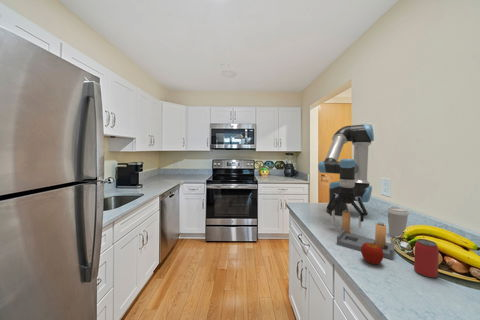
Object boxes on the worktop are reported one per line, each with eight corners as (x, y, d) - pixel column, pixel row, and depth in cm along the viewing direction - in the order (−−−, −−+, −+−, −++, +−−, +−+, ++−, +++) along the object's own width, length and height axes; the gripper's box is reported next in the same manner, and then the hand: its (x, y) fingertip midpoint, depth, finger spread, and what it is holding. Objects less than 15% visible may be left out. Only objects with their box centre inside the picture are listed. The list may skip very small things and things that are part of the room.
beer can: (413, 273, 76) (414, 241, 75) (414, 266, 81) (415, 236, 80) (437, 281, 71) (438, 248, 71) (437, 273, 76) (439, 242, 75)
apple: (372, 269, 79) (373, 249, 78) (356, 258, 86) (356, 240, 86) (387, 265, 81) (388, 246, 80) (370, 256, 88) (370, 238, 88)
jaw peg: (342, 231, 116) (343, 209, 115) (350, 232, 113) (351, 210, 113) (341, 233, 113) (341, 210, 112) (348, 235, 110) (349, 212, 110)
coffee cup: (402, 233, 112) (403, 207, 111) (412, 241, 103) (413, 212, 102) (382, 231, 115) (383, 205, 114) (390, 238, 105) (391, 210, 105)
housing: (343, 235, 109) (344, 212, 109) (394, 248, 95) (395, 221, 94) (336, 244, 99) (337, 218, 99) (392, 259, 85) (393, 230, 84)
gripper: (321, 185, 117) (320, 221, 118) (372, 190, 101) (371, 232, 102) (325, 183, 123) (325, 217, 123) (374, 188, 107) (373, 227, 107)
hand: (345, 224), depth 113 cm, fingers open, 13 cm apart
